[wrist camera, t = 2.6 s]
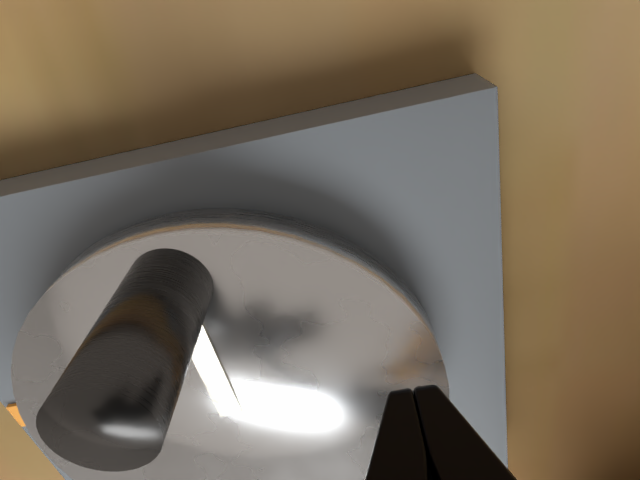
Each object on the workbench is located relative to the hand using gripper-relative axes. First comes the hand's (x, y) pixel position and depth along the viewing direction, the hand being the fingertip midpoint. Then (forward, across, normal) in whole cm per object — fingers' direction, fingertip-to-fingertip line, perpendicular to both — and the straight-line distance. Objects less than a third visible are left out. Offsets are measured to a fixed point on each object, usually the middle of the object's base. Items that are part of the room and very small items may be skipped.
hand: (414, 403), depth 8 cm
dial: (+7, +6, +6) cm, 11 cm away
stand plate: (+9, +6, +6) cm, 13 cm away
